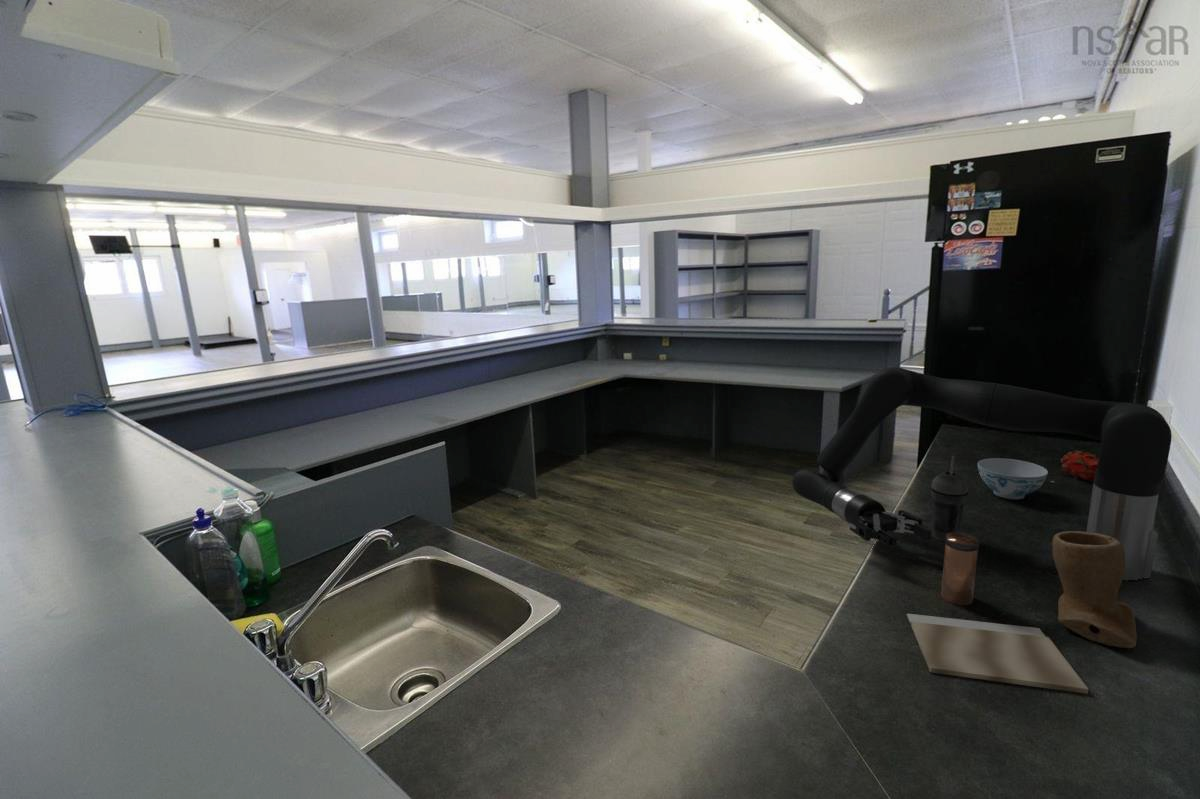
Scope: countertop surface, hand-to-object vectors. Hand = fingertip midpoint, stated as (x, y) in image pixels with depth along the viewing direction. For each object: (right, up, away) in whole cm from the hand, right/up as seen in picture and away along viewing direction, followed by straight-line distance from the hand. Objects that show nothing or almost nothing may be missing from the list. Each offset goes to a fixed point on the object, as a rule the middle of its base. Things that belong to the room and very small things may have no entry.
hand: (912, 539), depth 113 cm
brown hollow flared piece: (+20, -10, -17) cm, 28 cm away
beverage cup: (+15, -3, +14) cm, 21 cm away
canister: (+3, -9, -9) cm, 13 cm away
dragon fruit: (+73, +6, +44) cm, 85 cm away
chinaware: (+46, +3, +35) cm, 58 cm away
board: (-2, -12, -25) cm, 28 cm away
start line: (+1, -11, -17) cm, 20 cm away
